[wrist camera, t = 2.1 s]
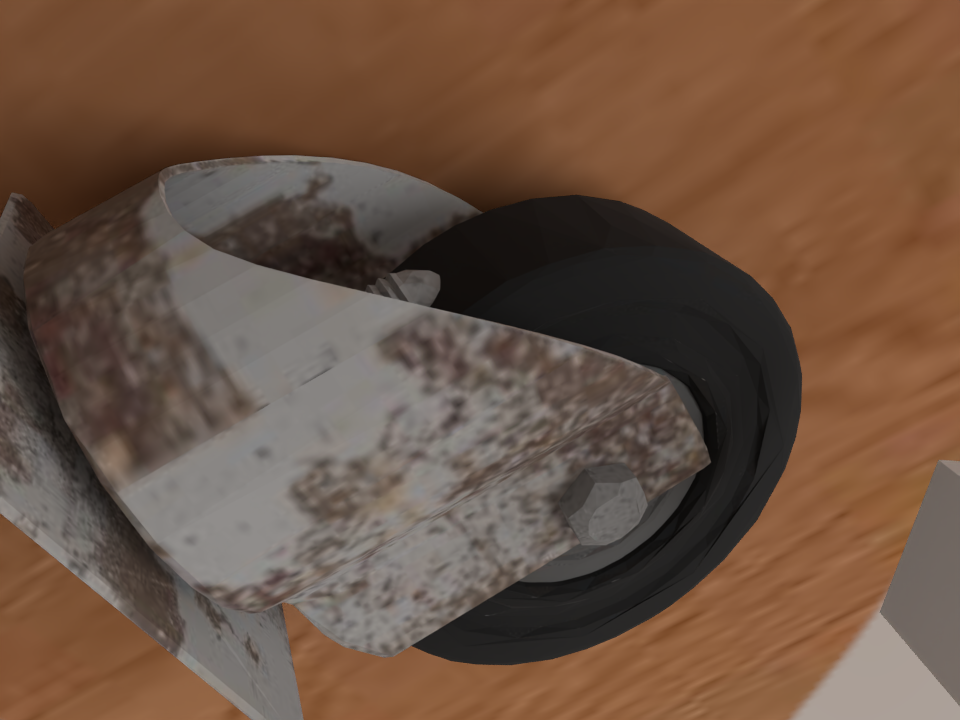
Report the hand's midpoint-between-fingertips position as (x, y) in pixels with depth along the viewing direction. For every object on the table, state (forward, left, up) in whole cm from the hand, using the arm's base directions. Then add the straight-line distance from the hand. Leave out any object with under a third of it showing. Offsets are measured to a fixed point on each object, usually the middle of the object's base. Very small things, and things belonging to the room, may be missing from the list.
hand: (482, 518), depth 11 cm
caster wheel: (-1, 0, -5) cm, 5 cm away
